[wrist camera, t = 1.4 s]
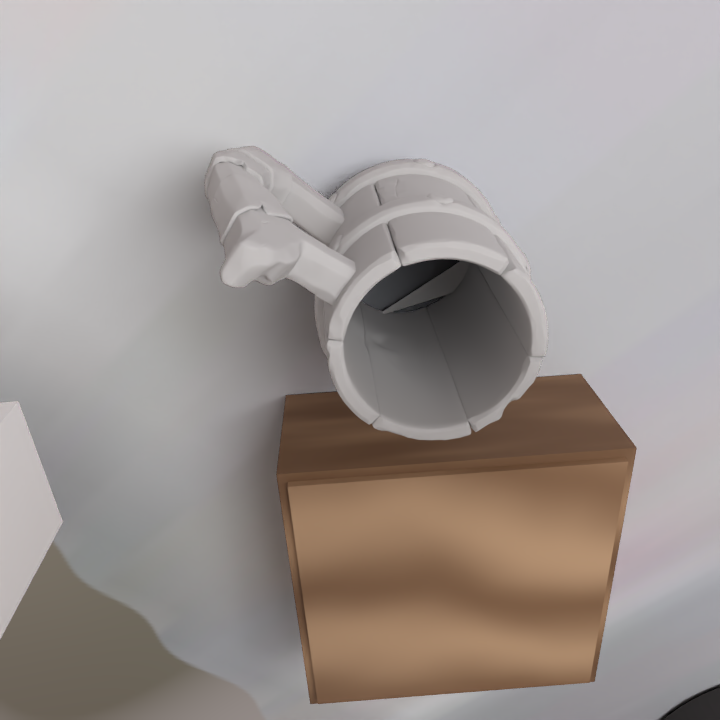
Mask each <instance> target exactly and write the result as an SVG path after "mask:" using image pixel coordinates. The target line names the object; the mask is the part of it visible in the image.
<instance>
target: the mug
mask: <svg viewBox="0 0 720 720" xmlns="http://www.w3.org/2000/svg"><path fill="white" fill-rule="evenodd" d="M205 196H206V198H207V199H208V200H209V204H210V207H211V213H212V217H213V220H214V222H215V224H216V226H217V228H218V232H219V237H220V243H221V244H222V245H223V246H224V250H225V258H226V259H225V260H224V262H223V264H222V266H221V269H220V277H221V280H222V282H223V283H224V284H226V285H228V286H231V287H236V288H244V287H246V286H247V285H248V284H249V283H250V282H252V281H254V280H255V281H257V282H259V283H261V284H264V285H273V284H275V283H277V282H278V281H280V280H283V279H284V278H287V279H290V280H293V281H295V282H297V283H298V284H300V285H301V286H303V287H305V288H306V289H307V290H309V291H310V292H312V293H313V294H315V302H314V311H315V322H316V327H317V332H318V336H319V340H320V344H321V348H322V351H323V352H324V354H325V355H326V356H327V360H328V368H329V372H330V375H331V378H332V381H333V383H334V386H335V388H336V390H337V392H338V394H339V395H340V397H341V398H342V400H343V401H344V403H345V404H346V405H347V406H348V407H349V409H350V410H351V411H352V412H353V413H354V414H355V415H356V416H358V417H359V418H360V419H361V420H363V421H364V422H366V423H367V424H369V425H370V424H372V426H373V427H374V428H375V429H377V430H381V431H389V432H391V433H395V434H398V435H402V436H405V437H407V438H413V439H417V440H450V439H455V438H461V437H464V436H467V435H470V434H471V428H472V429H473V430H474V431H475V432H477V431H479V430H480V429H482V428H483V427H485V426H487V425H488V424H490V423H492V422H495V421H497V420H499V419H500V418H501V416H502V414H503V411H504V409H505V407H506V406H507V404H508V403H510V402H511V401H513V400H518V399H519V398H520V397H521V396H522V395H523V394H524V393H525V391H526V390H527V389H528V388H529V387H530V386H531V385H532V384H533V382H534V381H535V379H536V377H537V375H538V372H539V369H540V367H541V364H542V361H543V358H542V357H545V355H546V352H547V346H548V322H547V316H546V311H545V308H544V305H543V302H542V299H541V297H540V295H539V292H538V290H537V289H536V287H535V285H534V284H533V282H532V280H531V275H530V273H531V268H530V265H529V262H528V260H527V258H526V256H525V254H524V253H523V252H522V251H521V250H520V248H519V247H518V245H517V244H516V242H515V241H514V240H513V238H512V237H511V236H510V235H509V233H508V232H507V231H506V230H505V229H504V228H503V227H502V226H501V224H500V221H499V219H498V217H497V216H496V215H495V213H494V211H493V209H492V207H491V206H490V204H489V202H488V201H487V199H486V198H485V197H484V195H483V194H482V193H481V192H480V191H479V189H478V188H477V187H475V186H474V185H473V184H472V183H471V182H470V181H469V180H468V179H466V178H465V177H464V176H462V175H461V174H459V173H458V172H456V171H455V170H453V169H451V168H449V167H446V166H444V165H441V164H438V163H435V162H432V161H430V160H427V159H400V160H393V161H388V162H384V163H380V164H378V165H375V166H373V167H370V168H368V169H366V170H364V171H362V172H360V173H358V174H357V175H355V176H353V177H352V178H350V179H349V180H348V181H346V182H345V183H344V184H343V185H342V186H341V187H340V188H339V189H338V190H337V191H336V192H335V193H334V194H333V195H331V196H330V197H329V198H328V199H327V198H325V197H324V196H322V195H321V194H320V193H318V192H317V191H316V190H314V189H313V188H312V187H310V186H309V185H308V184H307V183H305V182H304V181H303V180H301V179H300V178H299V177H298V176H297V175H296V174H294V173H293V172H292V171H291V170H290V169H289V168H288V167H287V166H285V165H284V164H282V163H280V162H278V161H277V160H276V159H275V158H273V157H272V156H271V155H269V154H268V153H267V152H265V151H263V150H262V149H260V148H258V147H255V146H247V147H240V148H231V149H227V150H224V151H219V152H216V153H215V154H214V155H213V157H212V159H211V162H210V165H209V167H208V170H207V173H206V176H205ZM293 223H295V224H296V225H298V226H299V227H301V228H302V229H303V230H305V231H306V232H307V233H309V234H310V235H311V236H310V235H309V234H307V233H306V232H304V231H303V230H301V229H300V228H298V227H297V226H295V225H294V224H293ZM437 259H453V260H461V261H460V262H458V263H457V264H455V265H454V266H452V267H451V268H449V269H448V270H446V271H444V272H443V273H441V274H440V275H438V276H437V277H435V278H434V279H432V280H431V281H429V282H427V283H426V284H424V285H423V286H421V287H420V288H418V289H417V290H415V291H414V292H412V293H410V294H409V295H407V296H406V297H404V298H403V299H401V300H400V301H398V302H397V303H395V304H393V305H392V306H390V307H389V308H387V309H386V310H384V311H381V310H378V309H375V308H372V307H370V306H368V305H367V304H365V303H364V302H360V301H361V300H362V299H363V297H364V296H365V295H366V294H367V293H368V292H369V291H370V290H371V289H372V288H373V287H374V286H375V285H376V284H377V283H378V282H379V281H381V280H382V279H383V278H385V277H386V276H388V275H389V274H391V273H393V272H394V271H396V270H397V269H398V268H400V267H401V266H407V265H411V264H414V263H418V262H423V261H428V260H437ZM445 295H446V296H445ZM441 296H445V297H443V298H442V299H440V300H439V301H437V302H435V303H433V304H430V305H429V306H428V307H427V308H426V307H424V308H421V309H418V310H415V311H411V312H402V313H394V312H393V311H396V310H399V309H403V308H406V307H409V306H412V305H416V304H419V303H422V302H425V301H428V300H432V299H435V298H438V297H441ZM469 424H470V425H469ZM470 426H471V428H470Z"/></svg>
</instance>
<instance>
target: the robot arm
mask: <svg viewBox="0 0 720 720" xmlns="http://www.w3.org/2000/svg"><path fill="white" fill-rule="evenodd" d="M62 523H63V520H62V518H61V515H60V512H59V510H58V507H57V504H56V502H55V499H54V496H53V493H52V491H51V488H50V485H49V483H48V480H47V477H46V474H45V472H44V469H43V466H42V464H41V461H40V458H39V456H38V453H37V450H36V447H35V445H34V442H33V439H32V437H31V434H30V431H29V428H28V426H27V423H26V420H25V418H24V415H23V412H22V409H21V407H20V404H19V401H14V402H0V639H1V637H2V635H3V633H4V631H5V629H6V627H7V625H8V624H9V622H10V620H11V618H12V616H13V614H14V613H15V611H16V609H17V607H18V605H19V603H20V601H21V599H22V597H23V596H24V594H25V592H26V590H27V588H28V586H29V585H30V583H31V581H32V579H33V577H34V575H35V573H36V572H37V570H38V568H39V566H40V564H41V562H42V560H43V558H44V557H45V555H46V553H47V551H48V549H49V547H50V545H51V544H52V542H53V540H54V538H55V536H56V534H57V532H58V530H59V529H60V527H61V525H62ZM664 720H720V688H717V689H715V690H712V691H710V692H707V693H705V694H703V695H701V696H699V697H697V698H695V699H693V700H691V701H689V702H688V703H686V704H684V705H683V706H681V707H680V708H678V709H677V710H675V711H674V712H672V713H671V714H670V715H669V716H667V717H666V718H665V719H664Z"/></svg>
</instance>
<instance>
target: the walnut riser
mask: <svg viewBox="0 0 720 720" xmlns="http://www.w3.org/2000/svg"><path fill="white" fill-rule="evenodd" d="M469 425H470V424H469ZM470 428H471V426H470ZM635 454H636V446H635V445H634V444H633V442H632V441H631V440H630V438H629V437H628V436H627V435H626V433H625V432H624V431H623V429H622V428H621V427H620V425H619V424H618V423H617V421H616V420H615V419H614V417H613V416H612V415H611V413H610V412H609V411H608V409H607V408H606V407H605V405H604V404H603V403H602V401H601V400H600V399H599V397H598V396H597V395H596V393H595V392H594V391H593V389H592V388H591V387H590V385H589V384H588V383H587V382H586V380H585V379H584V378H583V376H582V375H581V374H575V375H561V376H547V377H536V379H535V381H534V382H533V384H532V385H531V386H530V387H529V388H528V389H527V390H526V391H525V393H524V394H523V395H522V396H521V397H520V398H519V399H518V400H513V401H511V402H510V403H508V404H507V406H506V407H505V409H504V411H503V414H502V416H501V418H500V419H499V420H497V421H495V422H492V423H490V424H488V425H487V426H485V427H483V428H482V429H480V430H479V431H477V432H475V431H474V430H473V429H472V428H471V434H470V435H467V436H464V437H461V438H455V439H450V440H417V439H413V438H407V437H405V436H402V435H398V434H395V433H391V432H389V431H381V430H377V429H375V428H374V427H373V426H372V424H370V425H369V424H367V423H366V422H364V421H363V420H361V419H360V418H359V417H358V416H356V415H355V414H354V413H353V412H352V411H351V410H350V409H349V407H348V406H347V405H346V404H345V403H344V401H343V400H342V398H341V397H340V395H339V394H338V392H325V393H311V394H297V395H286V399H285V407H284V416H283V424H282V432H281V441H280V449H279V457H278V465H277V474H276V475H277V482H278V488H279V495H280V502H281V509H282V515H283V522H284V529H285V536H286V542H287V549H288V556H289V563H290V569H291V576H292V583H293V590H294V596H295V603H296V610H297V617H298V623H299V630H300V637H301V644H302V650H303V657H304V664H305V671H306V677H307V684H308V691H309V698H310V704H316V703H318V704H323V703H336V702H349V701H361V700H374V699H387V698H399V697H412V696H425V695H438V694H450V693H463V692H476V691H488V690H501V689H514V688H526V687H539V686H552V685H564V684H577V683H590V682H595V676H596V671H597V665H598V659H599V654H600V648H601V643H602V637H603V632H604V626H605V621H606V615H607V609H608V604H609V598H610V593H611V587H612V582H613V576H614V571H615V565H616V560H617V554H618V548H619V543H620V537H621V532H622V526H623V521H624V515H625V510H626V504H627V498H628V493H629V487H630V482H631V476H632V471H633V465H634V460H635Z"/></svg>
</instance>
